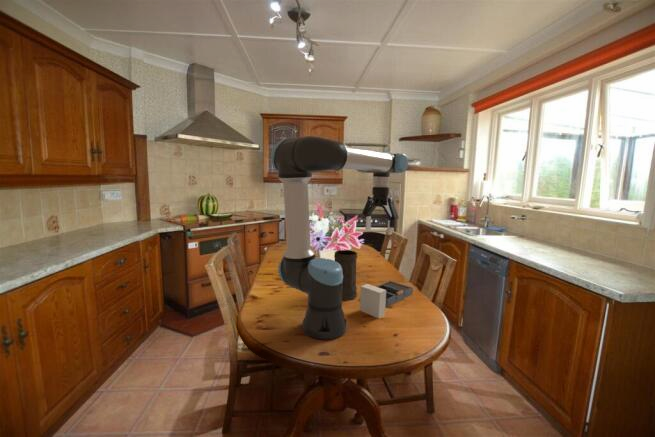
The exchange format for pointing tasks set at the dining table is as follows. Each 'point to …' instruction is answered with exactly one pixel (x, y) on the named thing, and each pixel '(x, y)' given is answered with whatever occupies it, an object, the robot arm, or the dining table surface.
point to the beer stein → (348, 272)
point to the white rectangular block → (373, 300)
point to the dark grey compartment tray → (395, 292)
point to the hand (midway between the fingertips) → (378, 232)
